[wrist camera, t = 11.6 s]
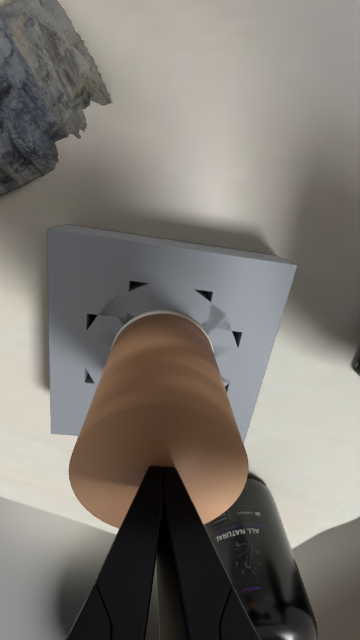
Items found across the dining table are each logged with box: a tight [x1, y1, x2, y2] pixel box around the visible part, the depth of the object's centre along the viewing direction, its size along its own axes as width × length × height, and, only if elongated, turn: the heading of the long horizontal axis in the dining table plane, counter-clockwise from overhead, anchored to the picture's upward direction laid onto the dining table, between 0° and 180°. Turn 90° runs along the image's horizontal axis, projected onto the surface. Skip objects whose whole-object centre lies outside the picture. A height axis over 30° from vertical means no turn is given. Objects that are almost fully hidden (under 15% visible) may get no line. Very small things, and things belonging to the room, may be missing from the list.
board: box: [47, 224, 297, 444], centre depth 17 cm, size 12×12×3 cm
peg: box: [69, 310, 248, 529], centre depth 13 cm, size 6×6×10 cm
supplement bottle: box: [204, 477, 318, 640], centre depth 19 cm, size 7×7×12 cm
